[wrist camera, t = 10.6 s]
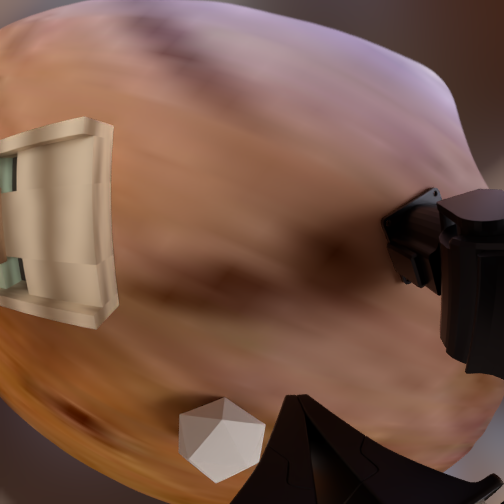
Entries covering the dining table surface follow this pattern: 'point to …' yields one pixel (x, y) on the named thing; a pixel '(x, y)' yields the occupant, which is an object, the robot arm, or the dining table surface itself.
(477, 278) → the robot arm
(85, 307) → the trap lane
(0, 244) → the walnut block
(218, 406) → the die
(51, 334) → the dining table surface
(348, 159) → the dining table surface
